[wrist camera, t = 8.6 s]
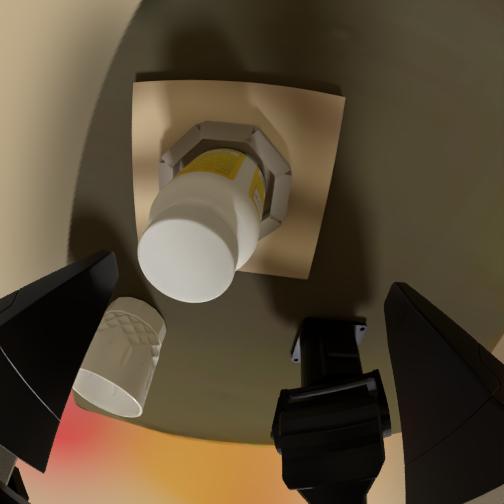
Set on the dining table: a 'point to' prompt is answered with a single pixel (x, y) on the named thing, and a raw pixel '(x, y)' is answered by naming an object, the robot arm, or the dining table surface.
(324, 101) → the board
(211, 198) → the supplement bottle
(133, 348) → the white cup
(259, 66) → the dining table surface
